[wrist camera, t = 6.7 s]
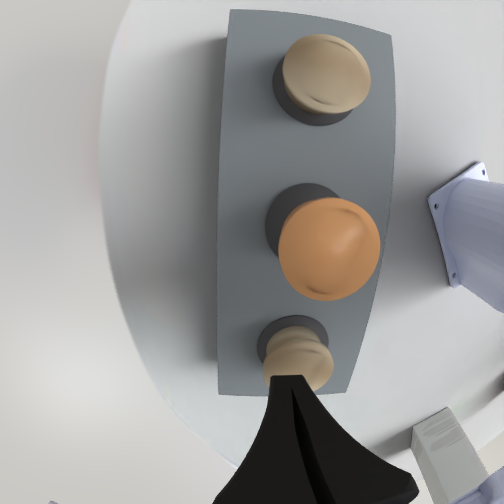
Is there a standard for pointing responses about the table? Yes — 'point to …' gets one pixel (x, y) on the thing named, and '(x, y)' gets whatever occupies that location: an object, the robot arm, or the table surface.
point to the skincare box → (446, 457)
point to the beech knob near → (325, 75)
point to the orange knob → (328, 248)
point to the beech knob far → (298, 356)
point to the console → (292, 191)
